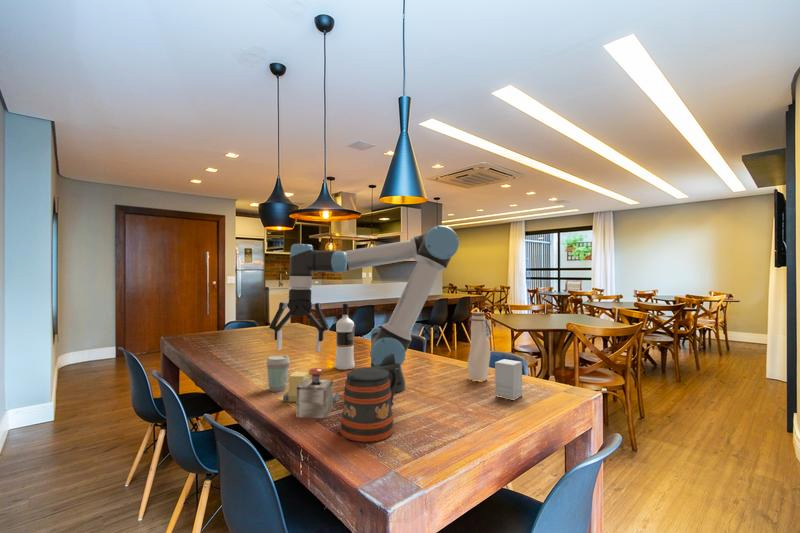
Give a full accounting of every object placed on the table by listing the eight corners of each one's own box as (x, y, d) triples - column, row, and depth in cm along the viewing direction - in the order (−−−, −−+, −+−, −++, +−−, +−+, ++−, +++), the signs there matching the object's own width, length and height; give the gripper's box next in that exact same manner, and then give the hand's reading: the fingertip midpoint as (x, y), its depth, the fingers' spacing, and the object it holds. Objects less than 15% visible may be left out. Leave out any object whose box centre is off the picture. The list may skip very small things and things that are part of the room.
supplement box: (523, 397, 138) (523, 361, 139) (513, 401, 133) (513, 364, 133) (504, 392, 143) (504, 358, 144) (494, 396, 138) (494, 361, 138)
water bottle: (495, 379, 162) (495, 312, 162) (487, 384, 154) (488, 314, 155) (472, 375, 167) (472, 311, 168) (464, 380, 159) (464, 312, 160)
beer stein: (374, 413, 120) (375, 349, 120) (413, 425, 111) (413, 355, 111) (329, 433, 104) (330, 359, 105) (369, 448, 96) (370, 367, 96)
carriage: (308, 396, 135) (308, 372, 135) (303, 401, 129) (303, 376, 129) (294, 396, 135) (294, 371, 136) (288, 401, 129) (288, 376, 130)
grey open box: (332, 407, 125) (333, 379, 125) (325, 418, 116) (326, 387, 116) (305, 407, 125) (305, 379, 125) (296, 417, 116) (296, 387, 116)
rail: (338, 398, 134) (339, 392, 134) (335, 403, 129) (335, 397, 129) (288, 397, 135) (288, 391, 135) (283, 401, 130) (283, 395, 130)
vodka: (338, 365, 184) (339, 302, 185) (357, 366, 183) (358, 302, 183) (331, 369, 175) (332, 303, 176) (351, 370, 173) (352, 304, 174)
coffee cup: (282, 393, 139) (283, 360, 139) (261, 392, 141) (261, 359, 141) (293, 387, 147) (294, 355, 148) (273, 385, 149) (273, 354, 149)
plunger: (323, 385, 122) (323, 368, 123) (320, 388, 118) (320, 371, 119) (311, 384, 123) (311, 367, 123) (307, 388, 119) (307, 371, 119)
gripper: (338, 289, 136) (336, 349, 136) (269, 287, 138) (267, 347, 137) (333, 289, 129) (331, 353, 128) (260, 288, 130) (258, 351, 130)
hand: (298, 350), depth 133 cm, fingers open, 13 cm apart
